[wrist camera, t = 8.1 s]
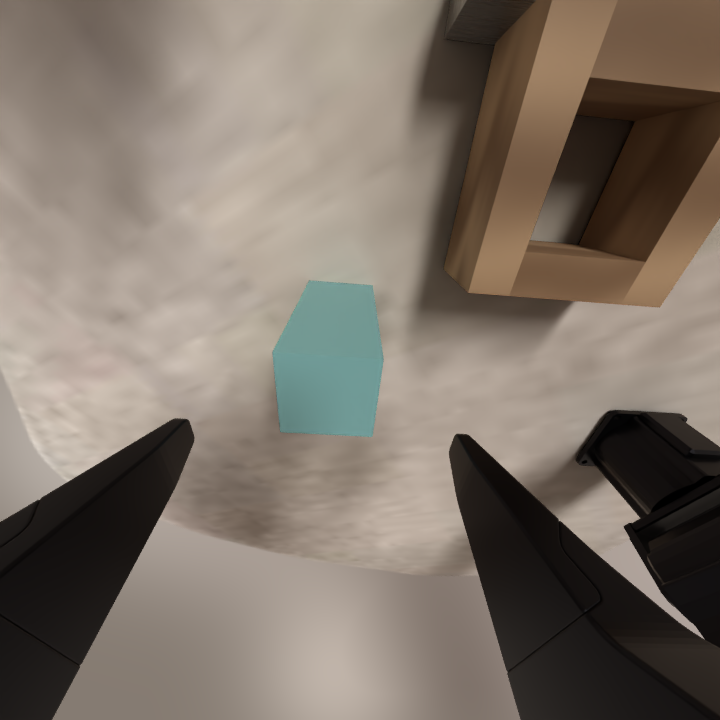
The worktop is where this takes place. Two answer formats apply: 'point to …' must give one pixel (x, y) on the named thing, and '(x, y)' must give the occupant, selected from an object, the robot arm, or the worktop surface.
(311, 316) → the turquoise rectangular prism
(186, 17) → the worktop surface
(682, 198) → the socket block
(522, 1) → the backstop wall
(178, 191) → the worktop surface
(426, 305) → the worktop surface
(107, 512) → the robot arm
